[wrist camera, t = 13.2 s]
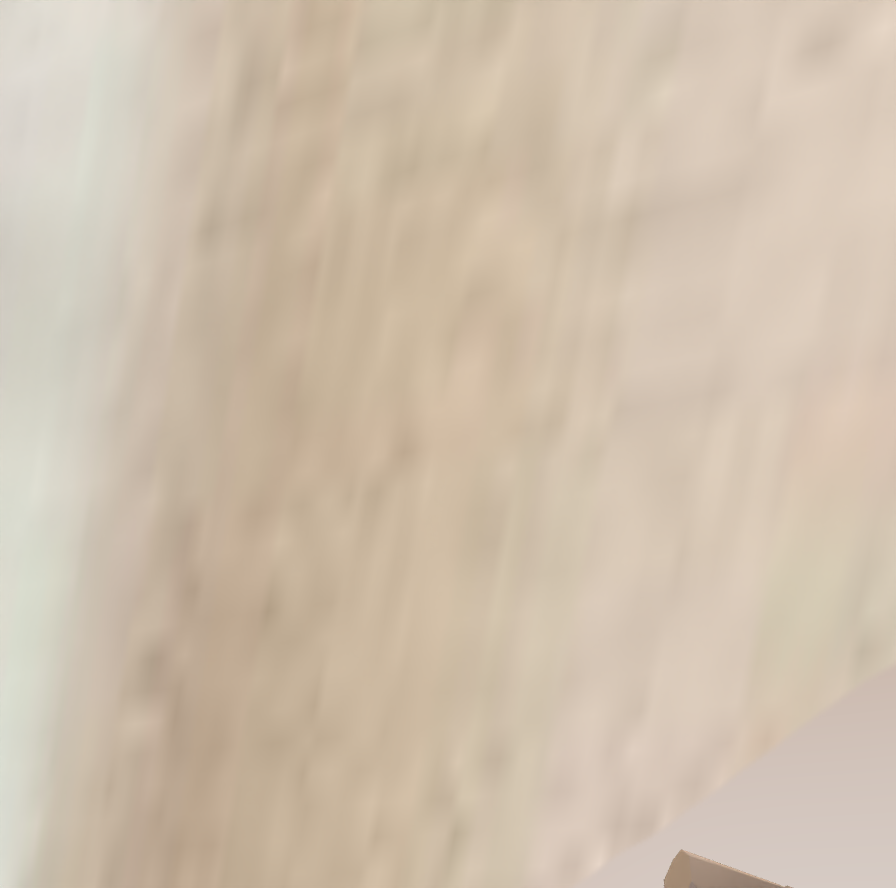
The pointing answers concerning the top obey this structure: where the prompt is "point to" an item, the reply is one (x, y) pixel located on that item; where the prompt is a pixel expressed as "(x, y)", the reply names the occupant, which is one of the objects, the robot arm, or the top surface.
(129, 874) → the top surface
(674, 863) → the robot arm
